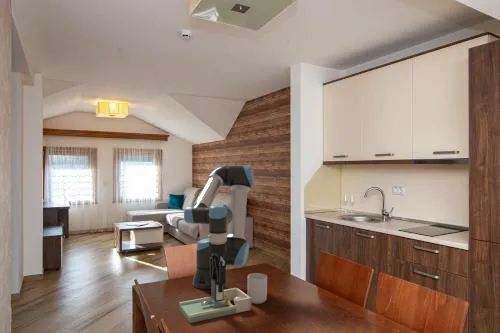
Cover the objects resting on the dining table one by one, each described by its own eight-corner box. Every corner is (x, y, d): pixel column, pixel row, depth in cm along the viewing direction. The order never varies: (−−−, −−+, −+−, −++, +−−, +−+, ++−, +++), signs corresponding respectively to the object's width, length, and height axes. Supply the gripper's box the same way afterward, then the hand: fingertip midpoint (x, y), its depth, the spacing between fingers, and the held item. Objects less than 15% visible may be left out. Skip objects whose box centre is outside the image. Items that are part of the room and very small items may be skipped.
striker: (198, 303, 143) (198, 279, 143) (222, 298, 148) (222, 275, 148) (205, 310, 136) (205, 285, 136) (230, 305, 141) (230, 281, 141)
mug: (261, 306, 146) (262, 280, 147) (243, 302, 150) (244, 277, 151) (272, 296, 157) (272, 273, 157) (255, 293, 161) (255, 270, 161)
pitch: (179, 309, 142) (179, 297, 142) (236, 298, 155) (236, 287, 155) (189, 323, 129) (190, 310, 130) (251, 309, 142) (251, 297, 142)
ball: (240, 300, 150) (234, 305, 148) (237, 293, 149) (230, 298, 148) (244, 303, 147) (237, 308, 145) (241, 296, 146) (234, 301, 144)
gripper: (202, 239, 148) (201, 292, 148) (217, 247, 133) (216, 306, 133) (218, 237, 152) (217, 289, 152) (234, 245, 137) (233, 303, 137)
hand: (217, 297), depth 142 cm, fingers closed on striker, 4 cm apart
